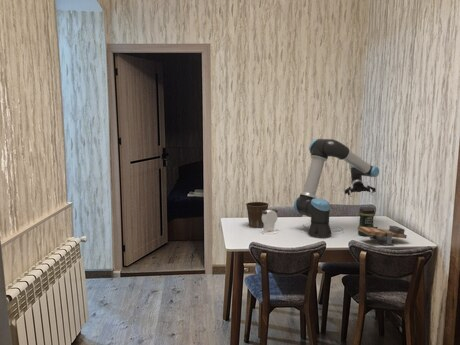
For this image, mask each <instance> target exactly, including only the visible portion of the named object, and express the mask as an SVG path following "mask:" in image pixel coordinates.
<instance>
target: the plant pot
mask: <svg viewBox="0 0 460 345" xmlns="http://www.w3.org/2000/svg"><path fill="white" fill-rule="evenodd" d="M245 207H246V212H247V219H248V226H249V227H250V228H253V229H260V228H261V229H262V228H264V226H263V222H262V211H266V210H269V209H268V207H269V203H268V202H263V201H250V202H247V203H245Z"/></svg>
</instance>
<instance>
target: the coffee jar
mask: <svg viewBox="0 0 460 345" xmlns="http://www.w3.org/2000/svg"><path fill="white" fill-rule="evenodd" d="M375 211H376V210H375V207H371V206H369V207H367V206H366V207H365V206H362V207H360V208H359V211H358V214H359V223H358V227H370V228H372V227H375V226H374V217H375V215H376V212H375ZM357 234H358V235H359V236H362V237H372V235H367V234H365V233H363V232H361V231H359V230H358V229H357Z"/></svg>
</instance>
